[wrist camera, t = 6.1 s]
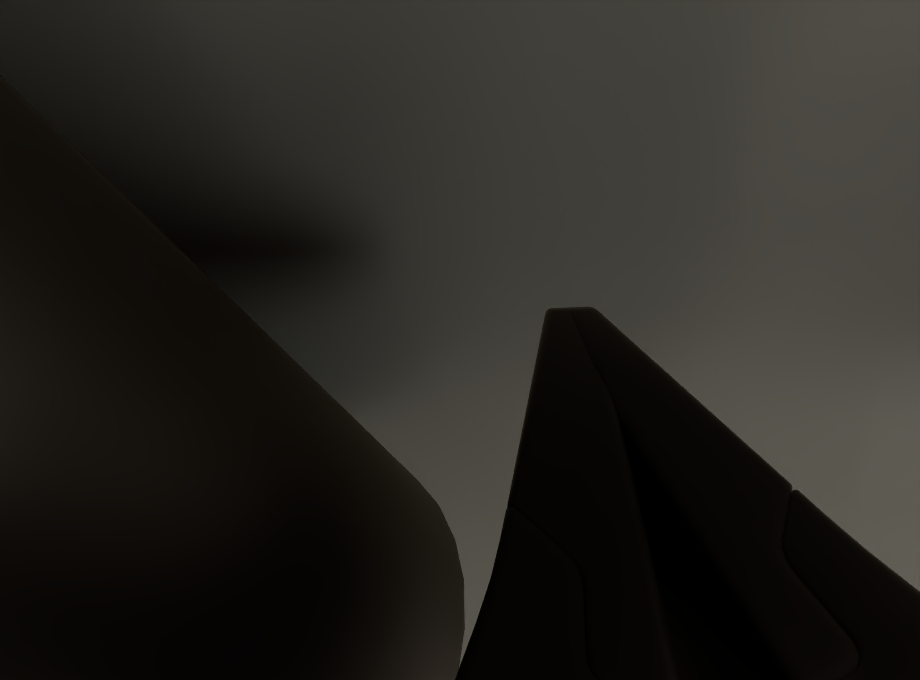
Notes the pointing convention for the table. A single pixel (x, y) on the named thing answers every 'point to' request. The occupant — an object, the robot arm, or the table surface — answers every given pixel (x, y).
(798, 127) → the table surface
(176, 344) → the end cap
